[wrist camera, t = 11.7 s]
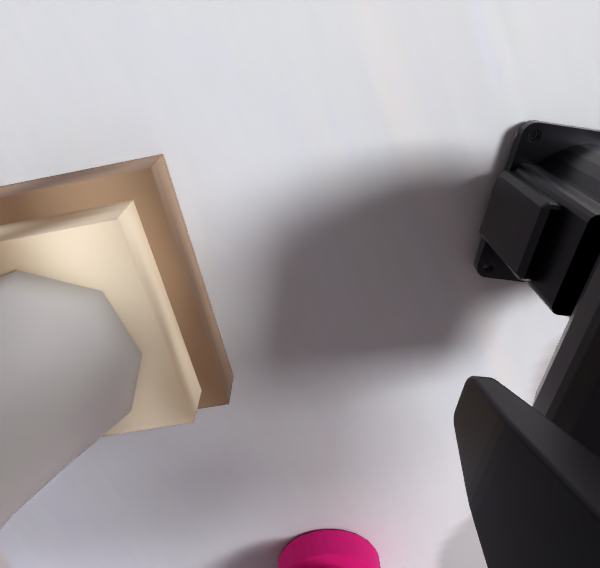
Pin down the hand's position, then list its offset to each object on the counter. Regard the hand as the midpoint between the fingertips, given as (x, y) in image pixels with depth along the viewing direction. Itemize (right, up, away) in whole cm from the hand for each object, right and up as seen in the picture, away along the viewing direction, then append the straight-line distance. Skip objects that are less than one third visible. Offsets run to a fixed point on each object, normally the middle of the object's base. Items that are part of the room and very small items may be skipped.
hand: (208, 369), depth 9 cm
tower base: (-8, +1, +14) cm, 16 cm away
